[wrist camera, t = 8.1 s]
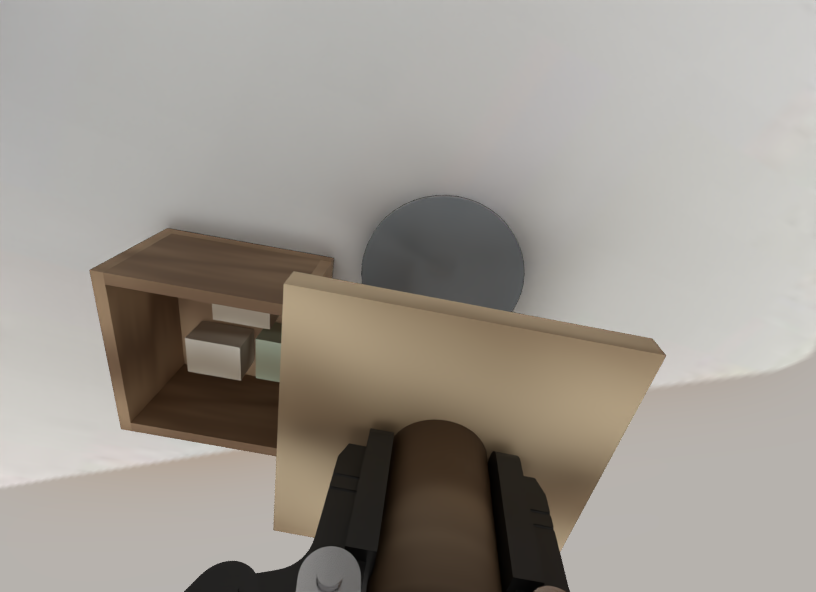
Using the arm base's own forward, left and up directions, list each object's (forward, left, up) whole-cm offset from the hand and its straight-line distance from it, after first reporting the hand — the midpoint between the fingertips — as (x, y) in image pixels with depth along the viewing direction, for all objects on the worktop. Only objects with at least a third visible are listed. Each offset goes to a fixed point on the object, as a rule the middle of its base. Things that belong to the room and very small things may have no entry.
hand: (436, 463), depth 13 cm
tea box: (+5, -11, -13) cm, 18 cm away
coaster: (0, 0, -13) cm, 13 cm away
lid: (0, 0, -1) cm, 1 cm away
